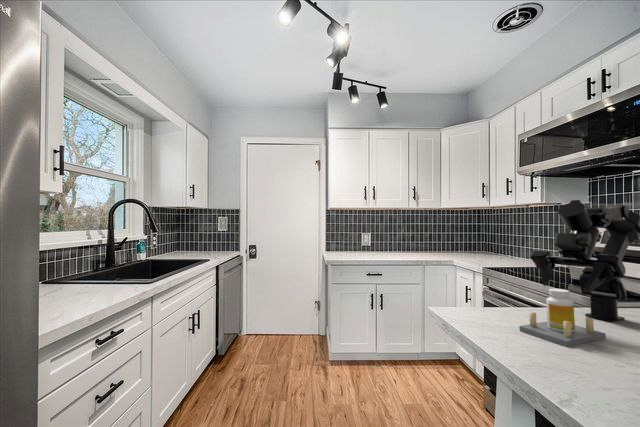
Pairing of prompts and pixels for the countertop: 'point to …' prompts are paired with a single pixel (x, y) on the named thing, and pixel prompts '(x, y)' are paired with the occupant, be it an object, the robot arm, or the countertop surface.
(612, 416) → the countertop surface
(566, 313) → the supplement bottle
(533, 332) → the plate
